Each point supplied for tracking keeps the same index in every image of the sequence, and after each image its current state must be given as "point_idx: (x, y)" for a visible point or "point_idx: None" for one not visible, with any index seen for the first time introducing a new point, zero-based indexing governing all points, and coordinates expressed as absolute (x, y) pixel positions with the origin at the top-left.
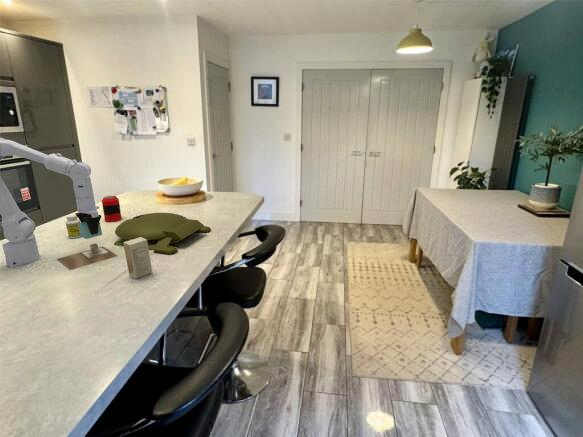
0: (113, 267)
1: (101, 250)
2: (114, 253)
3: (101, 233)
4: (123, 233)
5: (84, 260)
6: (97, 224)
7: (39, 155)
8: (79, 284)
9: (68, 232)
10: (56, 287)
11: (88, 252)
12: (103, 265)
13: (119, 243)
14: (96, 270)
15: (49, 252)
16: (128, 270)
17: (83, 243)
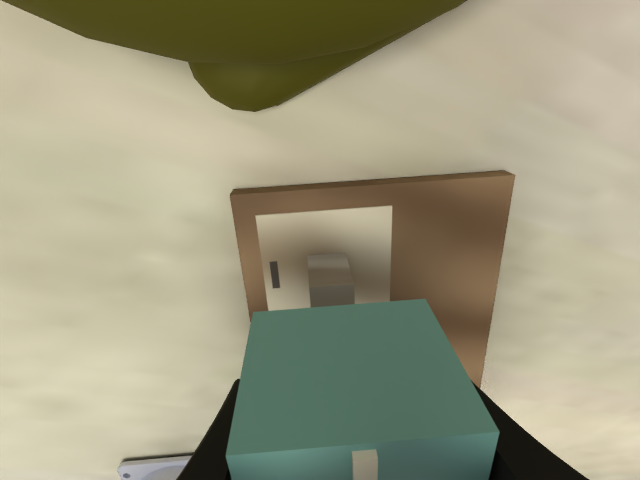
0: (605, 242)
1: (319, 229)
2: (450, 179)
3: (431, 315)
4: (346, 12)
5: None
6: (545, 465)
7: None
8: (622, 393)
9: None
10: (561, 448)
11: (293, 299)
12: (525, 272)
13: (295, 75)
14: (554, 314)
15: (89, 421)
16: None
17: (8, 259)
